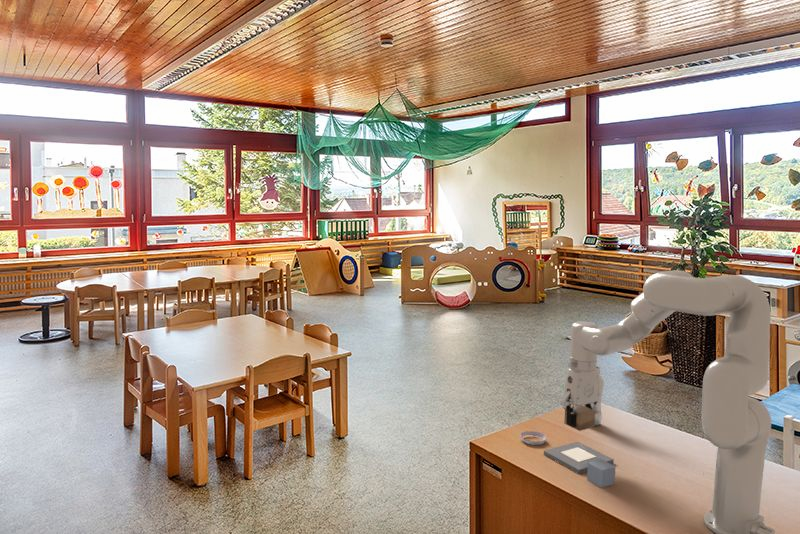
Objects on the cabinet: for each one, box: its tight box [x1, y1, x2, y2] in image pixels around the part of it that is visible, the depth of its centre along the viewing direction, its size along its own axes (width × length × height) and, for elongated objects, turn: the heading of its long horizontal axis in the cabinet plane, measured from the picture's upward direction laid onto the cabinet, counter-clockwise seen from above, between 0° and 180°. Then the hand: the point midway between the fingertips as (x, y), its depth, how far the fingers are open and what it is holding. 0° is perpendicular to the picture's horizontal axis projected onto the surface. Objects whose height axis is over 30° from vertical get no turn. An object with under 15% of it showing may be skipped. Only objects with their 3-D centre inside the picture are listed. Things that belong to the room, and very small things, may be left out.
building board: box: [543, 441, 615, 475], centre depth 174 cm, size 14×14×1 cm
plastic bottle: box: [583, 365, 605, 427], centre depth 199 cm, size 6×7×20 cm
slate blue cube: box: [586, 459, 616, 488], centre depth 160 cm, size 5×5×5 cm
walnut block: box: [564, 405, 595, 432], centre depth 173 cm, size 6×6×5 cm
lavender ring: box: [520, 430, 547, 446], centre depth 186 cm, size 8×8×2 cm
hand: (579, 423), depth 173 cm, fingers closed on walnut block, 6 cm apart
